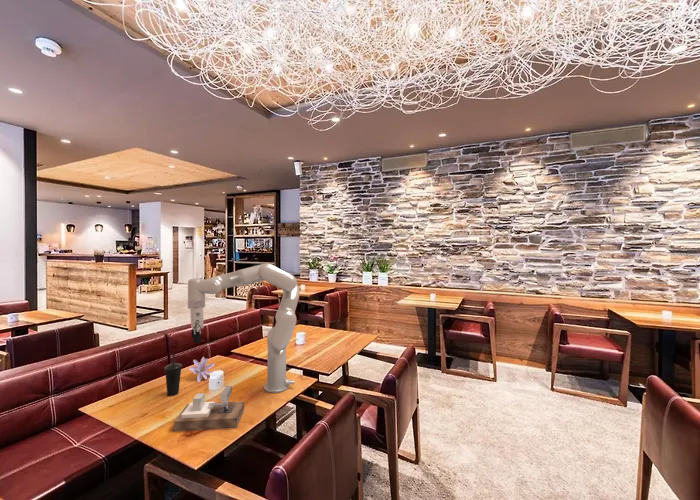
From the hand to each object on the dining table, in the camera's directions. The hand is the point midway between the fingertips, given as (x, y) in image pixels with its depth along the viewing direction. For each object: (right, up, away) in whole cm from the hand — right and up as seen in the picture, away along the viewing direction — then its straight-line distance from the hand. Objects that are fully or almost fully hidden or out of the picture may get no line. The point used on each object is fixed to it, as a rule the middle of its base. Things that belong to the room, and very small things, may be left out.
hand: (196, 339), depth 151 cm
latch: (+19, -24, -18) cm, 35 cm away
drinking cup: (-14, -28, +5) cm, 32 cm away
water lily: (-8, -28, +24) cm, 38 cm away
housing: (+16, -28, -19) cm, 37 cm away
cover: (+11, -24, -20) cm, 33 cm away
